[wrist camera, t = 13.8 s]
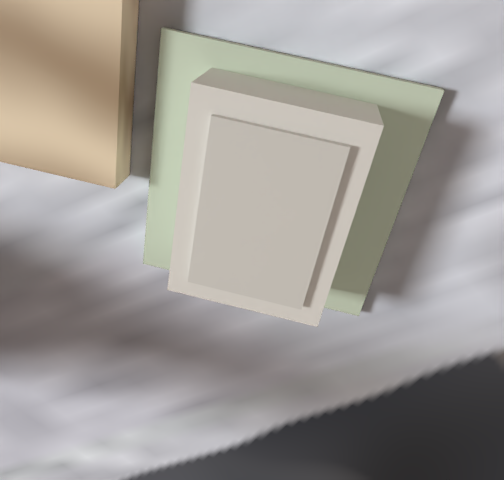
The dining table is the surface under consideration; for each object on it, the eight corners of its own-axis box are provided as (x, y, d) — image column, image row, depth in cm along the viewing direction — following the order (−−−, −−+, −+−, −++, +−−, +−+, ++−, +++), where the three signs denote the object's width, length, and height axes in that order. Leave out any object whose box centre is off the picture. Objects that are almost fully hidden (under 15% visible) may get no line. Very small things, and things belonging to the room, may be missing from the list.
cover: (319, 286, 21) (317, 330, 18) (186, 253, 21) (165, 293, 18) (376, 104, 17) (384, 128, 14) (211, 67, 17) (189, 83, 14)
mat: (358, 310, 21) (358, 316, 21) (146, 259, 22) (143, 263, 22) (441, 88, 16) (444, 90, 16) (164, 27, 17) (161, 28, 16)
